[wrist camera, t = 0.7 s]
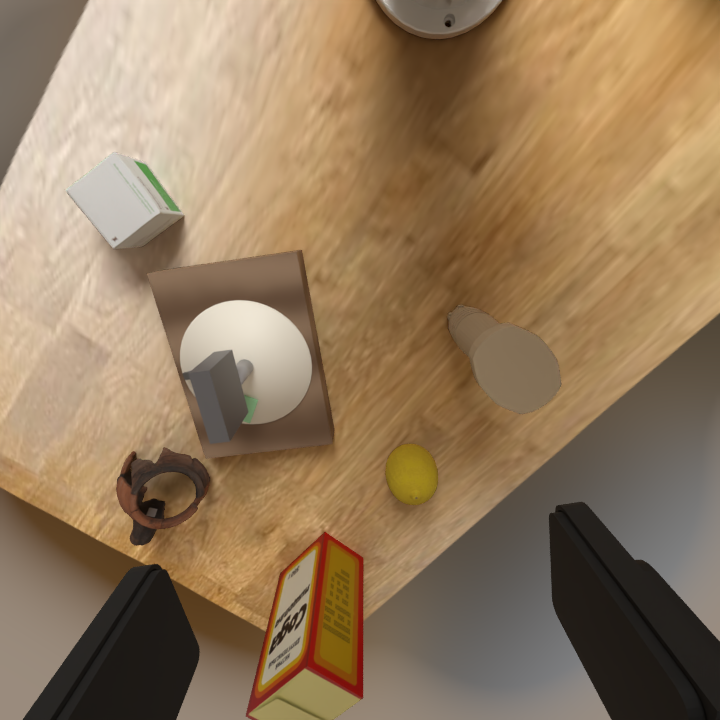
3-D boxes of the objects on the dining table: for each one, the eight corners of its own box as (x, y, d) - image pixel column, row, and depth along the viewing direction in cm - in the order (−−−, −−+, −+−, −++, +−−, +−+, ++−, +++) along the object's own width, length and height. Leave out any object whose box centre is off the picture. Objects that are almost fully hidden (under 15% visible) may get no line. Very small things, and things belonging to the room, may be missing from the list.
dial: (163, 310, 36) (161, 310, 35) (298, 291, 35) (297, 291, 35) (201, 430, 40) (199, 432, 39) (322, 415, 39) (321, 417, 39)
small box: (187, 215, 36) (161, 213, 31) (142, 248, 37) (111, 251, 32) (146, 158, 34) (112, 147, 30) (100, 195, 35) (61, 190, 31)
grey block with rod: (177, 345, 36) (120, 381, 28) (245, 336, 36) (209, 370, 27) (194, 401, 38) (146, 451, 30) (259, 393, 38) (229, 441, 29)
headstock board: (163, 269, 37) (146, 273, 35) (301, 249, 37) (296, 251, 34) (215, 443, 44) (205, 458, 41) (334, 429, 43) (332, 443, 40)
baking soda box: (324, 531, 48) (307, 670, 33) (363, 557, 49) (363, 703, 34) (280, 573, 50) (244, 721, 35) (317, 597, 52) (299, 749, 37)
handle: (461, 356, 40) (515, 426, 26) (423, 312, 38) (457, 361, 24) (498, 326, 39) (576, 382, 25) (460, 280, 37) (520, 311, 23)
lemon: (382, 470, 45) (386, 520, 37) (385, 430, 43) (389, 473, 36) (428, 472, 45) (441, 521, 37) (433, 431, 43) (448, 475, 36)
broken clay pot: (128, 426, 44) (126, 455, 37) (212, 434, 49) (224, 461, 42) (104, 521, 45) (97, 568, 38) (188, 520, 50) (196, 561, 43)
